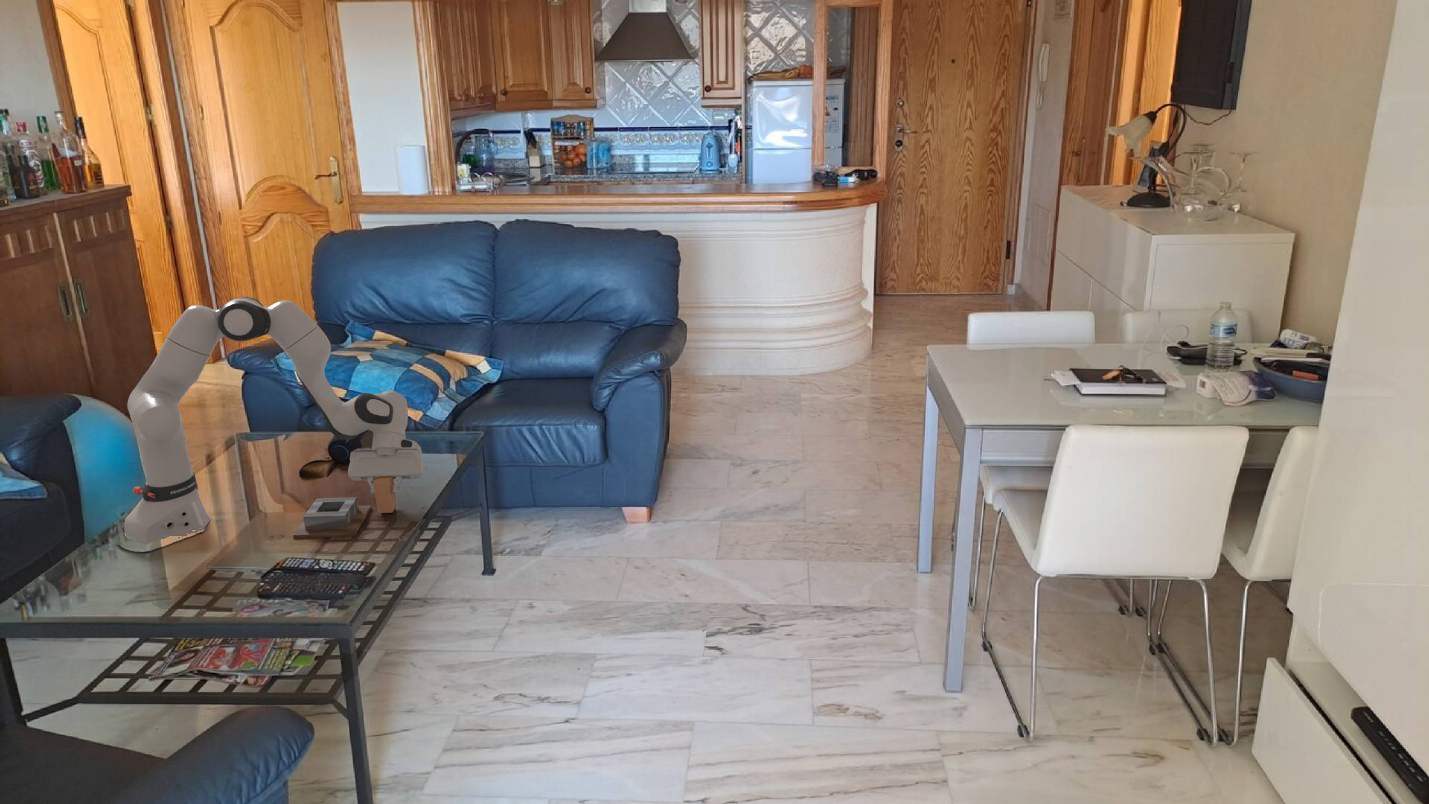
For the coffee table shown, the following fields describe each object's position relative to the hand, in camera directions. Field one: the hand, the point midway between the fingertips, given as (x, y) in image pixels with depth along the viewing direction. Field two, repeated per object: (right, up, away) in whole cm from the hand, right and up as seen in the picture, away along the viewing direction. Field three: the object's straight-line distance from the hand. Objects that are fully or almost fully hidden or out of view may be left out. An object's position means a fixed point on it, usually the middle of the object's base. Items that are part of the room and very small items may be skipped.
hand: (383, 493), depth 269 cm
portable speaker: (-22, +9, +43) cm, 50 cm away
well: (-13, -8, -3) cm, 15 cm away
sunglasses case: (-30, +5, +33) cm, 45 cm away
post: (0, -5, +2) cm, 5 cm away
